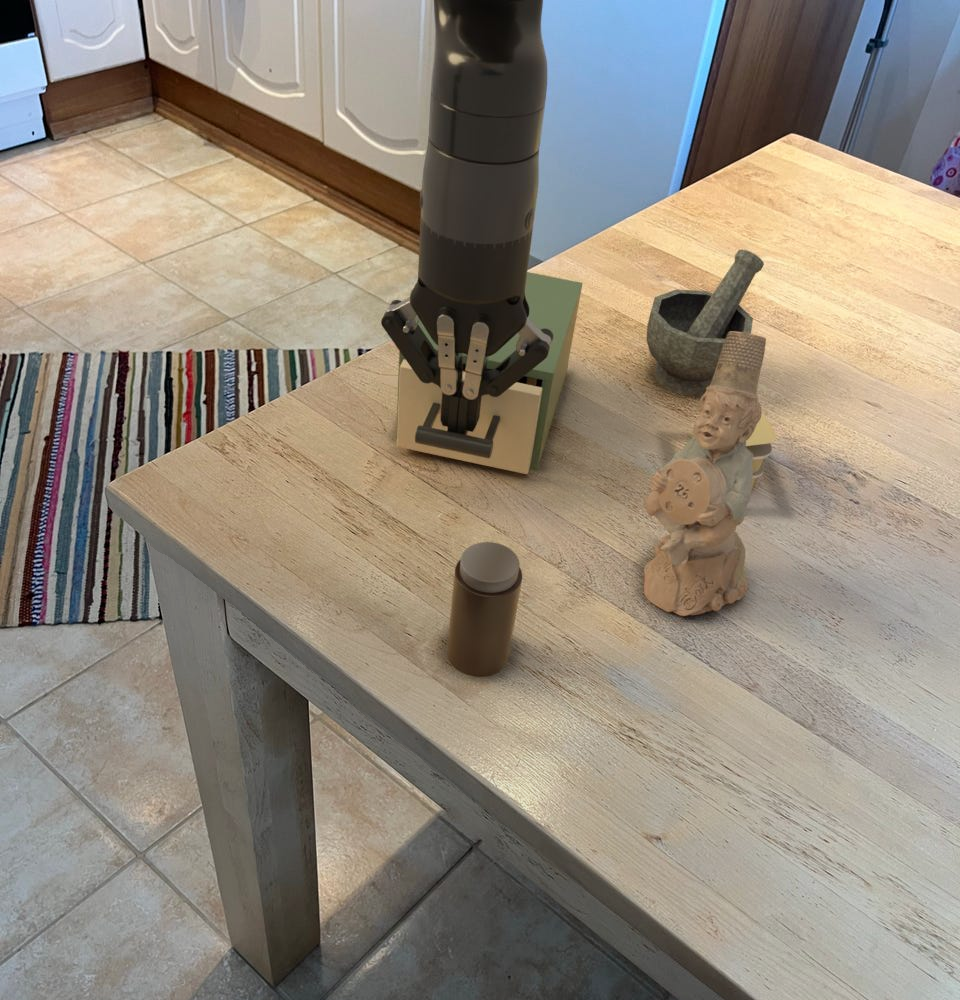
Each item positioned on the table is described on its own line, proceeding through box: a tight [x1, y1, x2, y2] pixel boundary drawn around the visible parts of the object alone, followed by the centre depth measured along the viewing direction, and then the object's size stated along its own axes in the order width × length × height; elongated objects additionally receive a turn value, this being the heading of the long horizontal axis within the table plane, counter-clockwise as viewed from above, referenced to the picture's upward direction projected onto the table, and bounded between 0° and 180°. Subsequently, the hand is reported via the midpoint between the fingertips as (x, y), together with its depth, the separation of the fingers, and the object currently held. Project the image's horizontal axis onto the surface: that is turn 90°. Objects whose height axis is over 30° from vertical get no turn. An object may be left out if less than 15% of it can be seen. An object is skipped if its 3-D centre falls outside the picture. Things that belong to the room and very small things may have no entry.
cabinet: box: [395, 271, 583, 470], centre depth 86 cm, size 16×13×10 cm
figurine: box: [643, 331, 767, 617], centre depth 69 cm, size 9×8×20 cm
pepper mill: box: [446, 541, 523, 678], centre depth 66 cm, size 4×4×9 cm
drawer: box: [396, 359, 543, 475], centre depth 83 cm, size 19×11×8 cm, turn 167°
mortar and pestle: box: [645, 249, 765, 397], centre depth 92 cm, size 11×9×12 cm
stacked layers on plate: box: [745, 409, 777, 490], centre depth 84 cm, size 10×9×6 cm
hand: (458, 429), depth 78 cm, fingers closed
